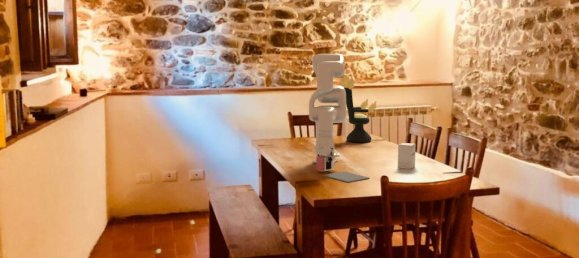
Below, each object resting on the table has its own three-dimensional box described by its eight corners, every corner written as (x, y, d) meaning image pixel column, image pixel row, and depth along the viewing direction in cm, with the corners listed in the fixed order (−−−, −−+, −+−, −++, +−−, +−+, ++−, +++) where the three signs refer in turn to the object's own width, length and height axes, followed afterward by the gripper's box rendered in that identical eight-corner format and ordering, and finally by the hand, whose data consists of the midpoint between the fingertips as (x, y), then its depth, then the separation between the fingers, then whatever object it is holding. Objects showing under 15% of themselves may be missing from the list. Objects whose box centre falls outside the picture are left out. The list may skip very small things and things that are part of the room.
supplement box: (410, 169, 323) (411, 145, 321) (397, 167, 326) (397, 144, 325) (415, 166, 329) (416, 143, 327) (402, 165, 333) (402, 142, 331)
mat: (344, 172, 315) (344, 171, 315) (369, 178, 300) (369, 177, 300) (323, 176, 306) (323, 175, 306) (348, 182, 292) (348, 181, 292)
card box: (328, 167, 321) (328, 154, 320) (334, 169, 317) (334, 156, 316) (316, 170, 316) (316, 156, 315) (322, 171, 313) (322, 158, 311)
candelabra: (376, 142, 407) (377, 74, 401) (344, 144, 402) (345, 75, 396) (366, 138, 425) (367, 73, 419) (336, 139, 420) (336, 73, 414)
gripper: (309, 132, 318) (309, 166, 321) (330, 136, 305) (330, 172, 308) (320, 130, 322) (320, 164, 326) (342, 134, 309) (341, 170, 312)
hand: (325, 167), depth 317 cm, fingers closed on card box, 4 cm apart
